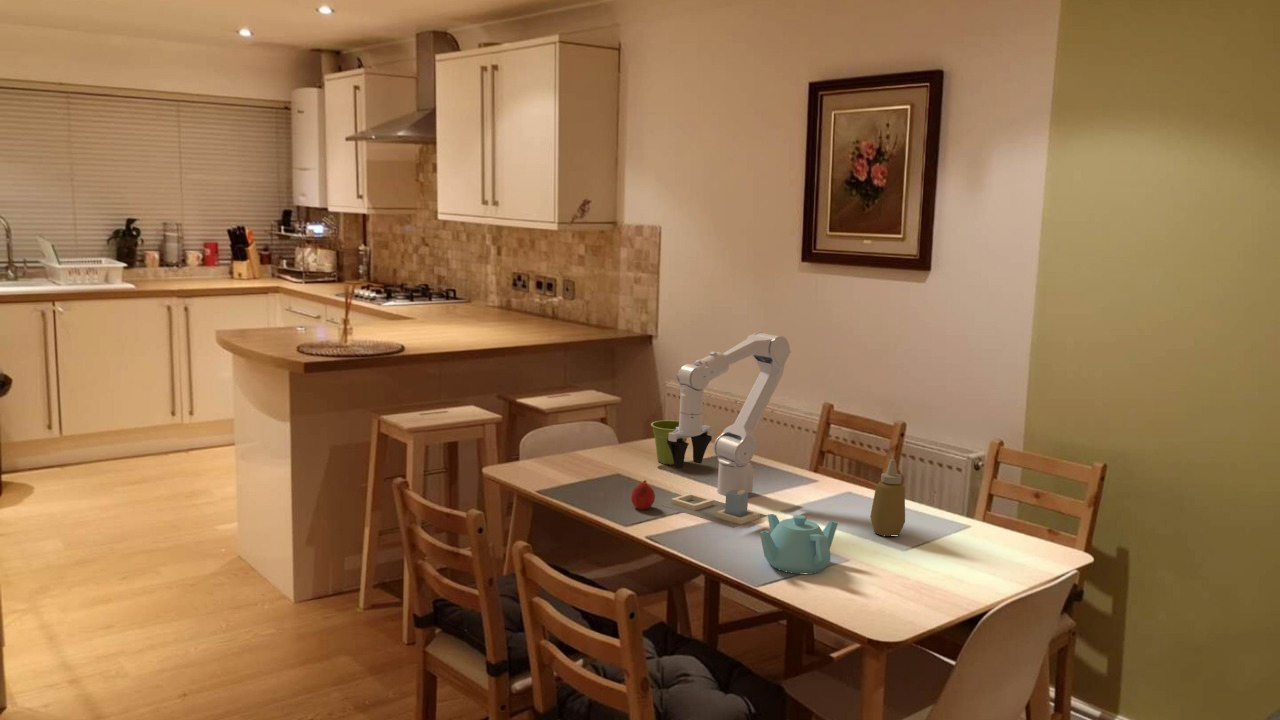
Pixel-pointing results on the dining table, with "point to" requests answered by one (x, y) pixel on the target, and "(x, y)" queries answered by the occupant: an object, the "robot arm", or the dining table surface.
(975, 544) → the dining table surface
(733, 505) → the plug
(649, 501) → the red pomegranate
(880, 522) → the squeeze bottle
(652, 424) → the plant pot
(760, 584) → the dining table surface
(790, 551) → the teapot
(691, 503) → the panel
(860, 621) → the dining table surface
